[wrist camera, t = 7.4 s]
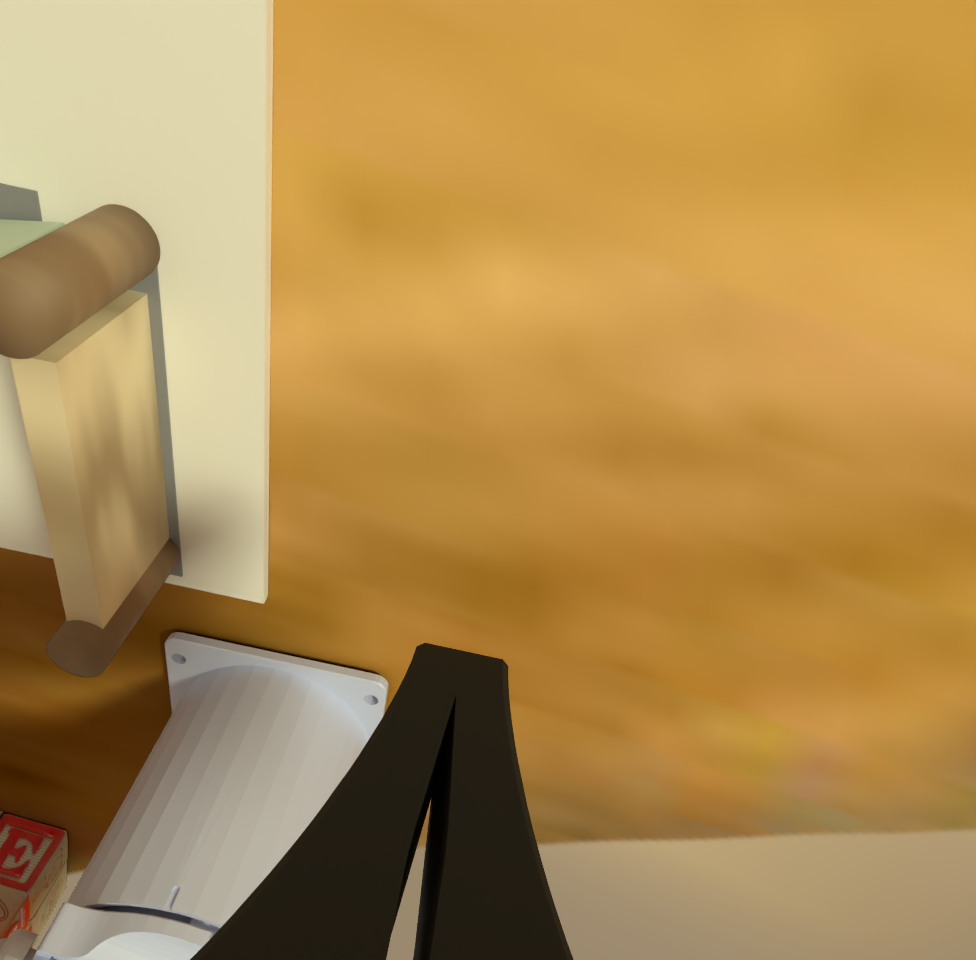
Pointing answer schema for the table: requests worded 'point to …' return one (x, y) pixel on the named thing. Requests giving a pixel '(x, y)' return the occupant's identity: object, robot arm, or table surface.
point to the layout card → (181, 234)
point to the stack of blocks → (30, 873)
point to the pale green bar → (22, 233)
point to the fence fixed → (91, 422)
